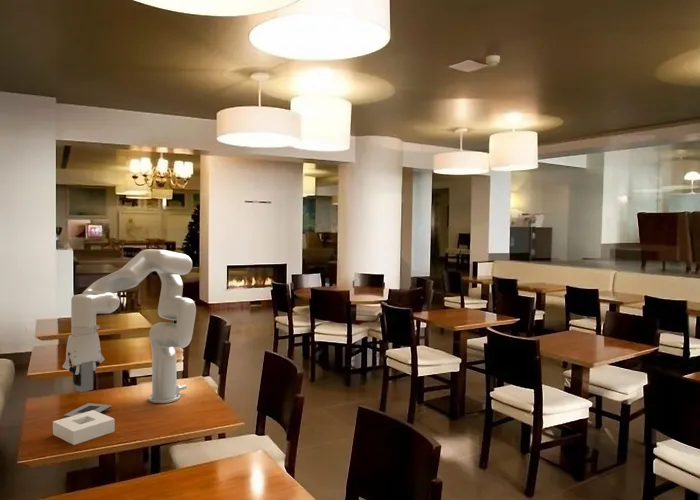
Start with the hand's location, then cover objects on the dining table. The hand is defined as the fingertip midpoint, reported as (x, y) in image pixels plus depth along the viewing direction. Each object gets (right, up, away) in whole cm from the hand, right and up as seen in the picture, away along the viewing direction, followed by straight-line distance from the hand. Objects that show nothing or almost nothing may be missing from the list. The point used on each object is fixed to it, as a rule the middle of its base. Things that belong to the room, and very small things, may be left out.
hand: (84, 382), depth 178 cm
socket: (0, -17, +1) cm, 17 cm away
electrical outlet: (-8, -17, +18) cm, 26 cm away
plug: (0, -2, 0) cm, 2 cm away
